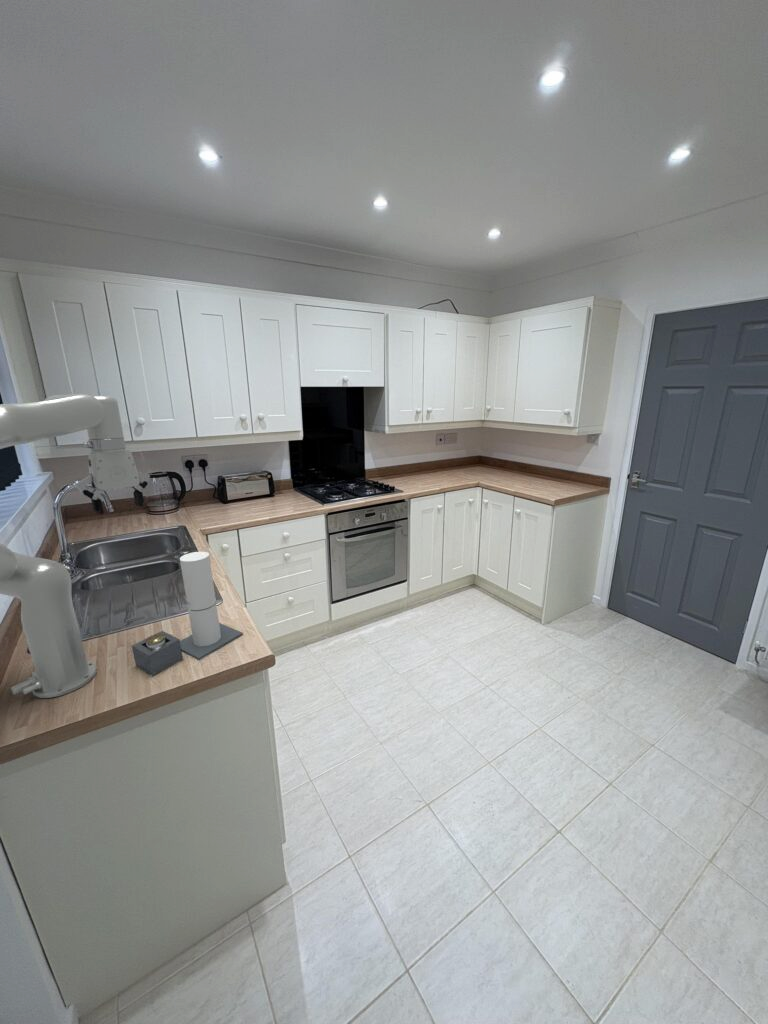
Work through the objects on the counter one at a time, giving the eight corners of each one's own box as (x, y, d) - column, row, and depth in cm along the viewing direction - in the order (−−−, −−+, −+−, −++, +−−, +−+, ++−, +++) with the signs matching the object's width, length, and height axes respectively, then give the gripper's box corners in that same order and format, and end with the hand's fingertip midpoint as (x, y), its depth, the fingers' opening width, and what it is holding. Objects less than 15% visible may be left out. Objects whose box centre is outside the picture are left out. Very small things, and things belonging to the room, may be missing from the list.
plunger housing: (152, 676, 100) (148, 655, 98) (135, 666, 104) (131, 645, 102) (183, 659, 106) (179, 639, 104) (166, 650, 110) (162, 630, 109)
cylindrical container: (212, 629, 119) (200, 549, 112) (225, 637, 114) (214, 555, 108) (188, 640, 113) (174, 557, 107) (201, 649, 109) (187, 563, 103)
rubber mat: (199, 660, 106) (198, 658, 105) (173, 646, 112) (172, 644, 112) (243, 634, 117) (242, 632, 117) (217, 623, 123) (217, 621, 123)
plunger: (155, 664, 102) (151, 645, 100) (146, 658, 104) (142, 640, 102) (171, 655, 105) (167, 636, 104) (162, 650, 107) (158, 632, 106)
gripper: (73, 449, 95) (88, 519, 99) (149, 443, 109) (160, 504, 113) (62, 448, 99) (77, 514, 104) (137, 442, 113) (147, 501, 117)
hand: (120, 509), depth 108 cm, fingers open, 9 cm apart
